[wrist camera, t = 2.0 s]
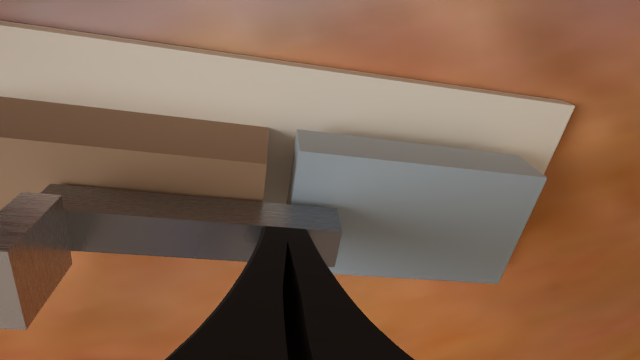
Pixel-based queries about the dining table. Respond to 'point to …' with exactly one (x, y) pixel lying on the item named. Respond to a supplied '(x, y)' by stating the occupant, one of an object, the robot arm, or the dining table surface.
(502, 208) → the cover
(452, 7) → the dining table surface
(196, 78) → the latch box
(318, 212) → the bolt
